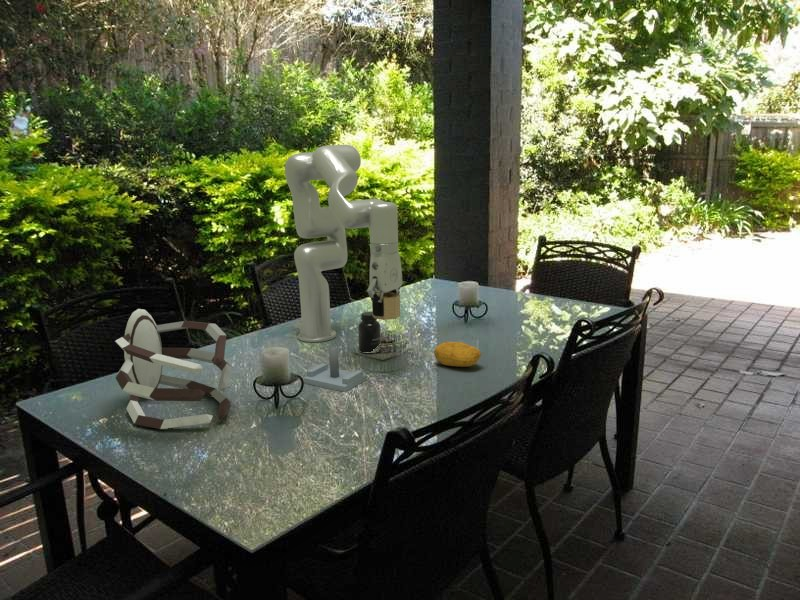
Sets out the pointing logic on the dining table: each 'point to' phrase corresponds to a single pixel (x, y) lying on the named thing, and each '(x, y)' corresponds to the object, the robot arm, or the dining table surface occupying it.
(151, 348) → the disc with segmented arms
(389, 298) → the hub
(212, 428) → the dining table surface
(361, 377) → the shaft stand
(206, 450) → the dining table surface
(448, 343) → the potato
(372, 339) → the supplement bottle
